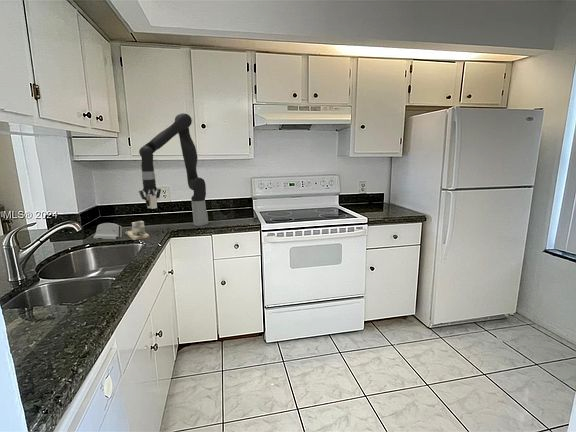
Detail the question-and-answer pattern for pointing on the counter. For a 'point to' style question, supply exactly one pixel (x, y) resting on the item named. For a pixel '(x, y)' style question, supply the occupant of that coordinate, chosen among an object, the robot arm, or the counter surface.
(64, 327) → the counter surface
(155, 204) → the cream upright block
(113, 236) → the grey rounded block
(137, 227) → the beige hat shape
